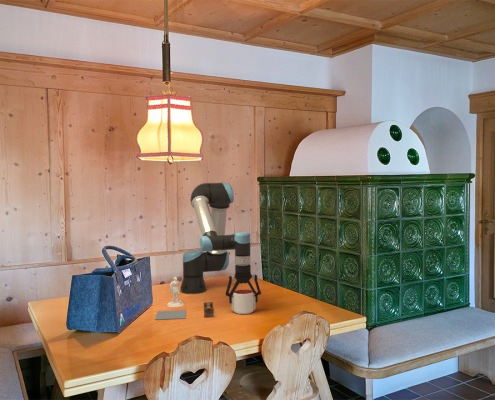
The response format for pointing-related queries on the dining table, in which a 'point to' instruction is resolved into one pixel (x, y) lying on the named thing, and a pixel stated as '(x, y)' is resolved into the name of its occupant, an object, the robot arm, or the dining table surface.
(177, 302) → the figurine
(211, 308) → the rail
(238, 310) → the cup
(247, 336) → the dining table surface
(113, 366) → the dining table surface
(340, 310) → the dining table surface
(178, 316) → the pad
